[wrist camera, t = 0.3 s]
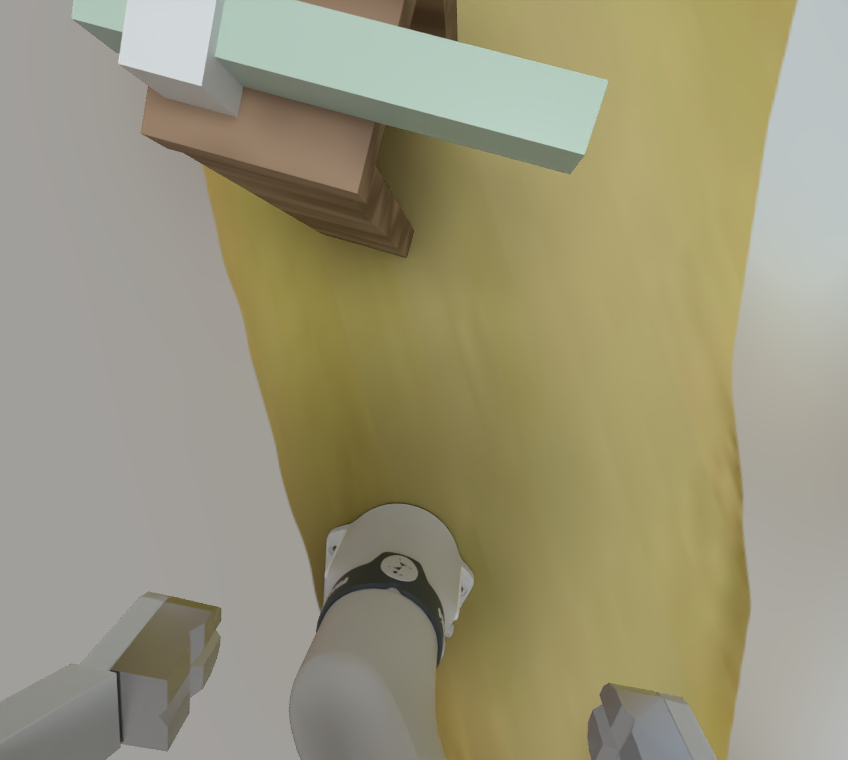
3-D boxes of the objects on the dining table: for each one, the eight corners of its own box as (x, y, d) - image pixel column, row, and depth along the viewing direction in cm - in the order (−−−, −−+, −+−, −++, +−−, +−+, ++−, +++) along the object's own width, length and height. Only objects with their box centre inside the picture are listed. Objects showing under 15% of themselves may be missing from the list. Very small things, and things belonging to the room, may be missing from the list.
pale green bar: (559, 205, 21) (575, 187, 18) (111, 83, 22) (56, 47, 19) (601, 75, 20) (625, 33, 17) (129, -46, 21) (74, -105, 18)
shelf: (415, 260, 47) (357, 193, 22) (313, 231, 48) (140, 133, 22) (467, 68, 44) (471, -278, 18) (357, 40, 45) (213, -335, 19)
